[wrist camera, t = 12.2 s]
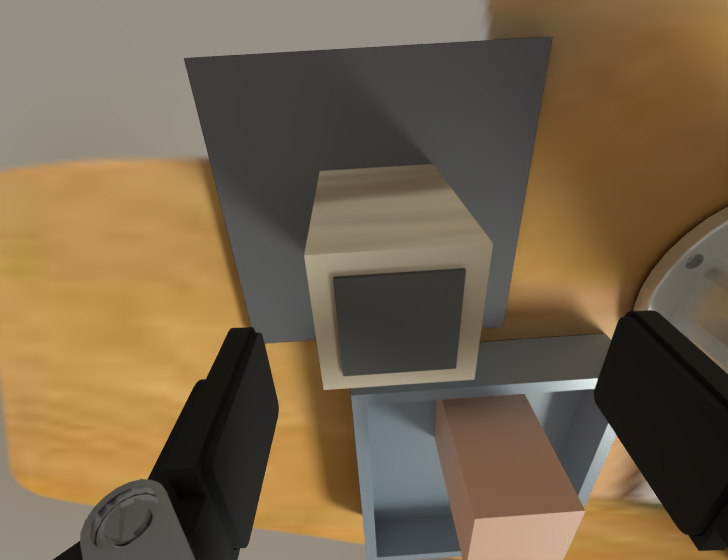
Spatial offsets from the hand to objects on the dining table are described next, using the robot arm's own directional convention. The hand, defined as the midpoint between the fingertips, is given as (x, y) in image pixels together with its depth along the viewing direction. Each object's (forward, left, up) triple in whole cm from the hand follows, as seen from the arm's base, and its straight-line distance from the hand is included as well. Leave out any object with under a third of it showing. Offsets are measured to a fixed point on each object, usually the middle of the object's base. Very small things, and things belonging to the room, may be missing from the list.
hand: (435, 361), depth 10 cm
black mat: (0, -1, -10) cm, 10 cm away
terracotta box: (+14, +5, -9) cm, 17 cm away
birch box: (0, -1, -9) cm, 9 cm away
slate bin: (+18, +5, -10) cm, 21 cm away
